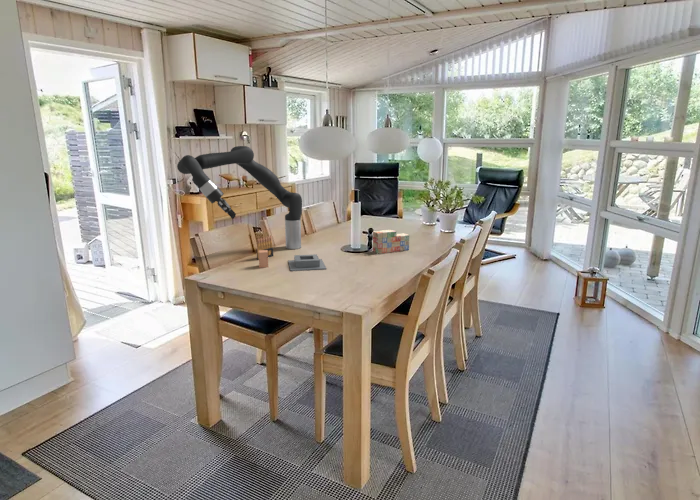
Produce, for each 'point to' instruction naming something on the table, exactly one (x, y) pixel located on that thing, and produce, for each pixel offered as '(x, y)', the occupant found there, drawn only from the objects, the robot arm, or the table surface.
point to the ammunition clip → (265, 246)
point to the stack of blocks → (389, 241)
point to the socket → (306, 263)
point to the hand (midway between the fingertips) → (234, 216)
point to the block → (263, 258)
